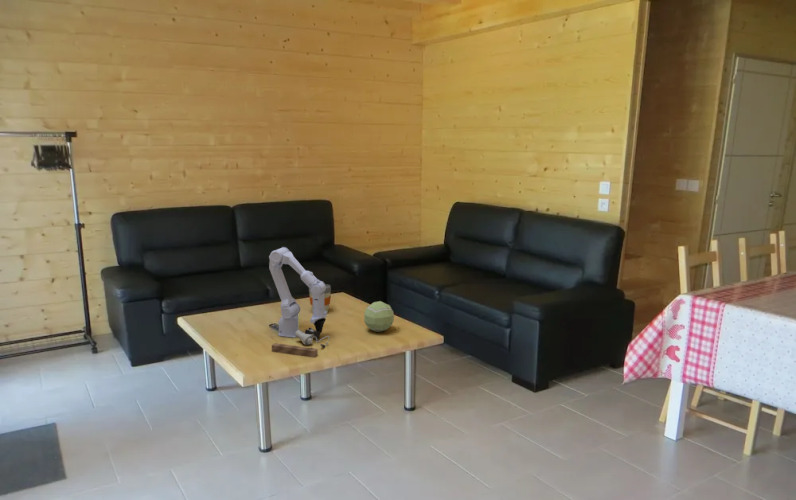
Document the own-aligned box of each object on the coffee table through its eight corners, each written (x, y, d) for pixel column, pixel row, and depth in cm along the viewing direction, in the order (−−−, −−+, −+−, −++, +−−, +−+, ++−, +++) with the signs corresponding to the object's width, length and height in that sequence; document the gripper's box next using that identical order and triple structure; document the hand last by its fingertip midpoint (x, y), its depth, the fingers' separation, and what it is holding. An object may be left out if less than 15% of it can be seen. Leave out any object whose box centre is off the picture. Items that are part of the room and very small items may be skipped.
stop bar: (271, 351, 266) (271, 345, 266) (275, 349, 269) (275, 343, 269) (314, 357, 259) (314, 351, 259) (317, 355, 262) (317, 348, 262)
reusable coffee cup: (311, 308, 334) (310, 283, 331) (333, 309, 334) (332, 283, 331) (307, 315, 322) (306, 289, 319) (329, 315, 321) (329, 289, 318)
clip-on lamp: (333, 349, 277) (309, 333, 288) (336, 337, 276) (312, 322, 286) (315, 354, 268) (291, 337, 279) (318, 342, 266) (293, 325, 277)
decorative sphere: (399, 332, 294) (399, 304, 291) (373, 337, 286) (373, 308, 283) (384, 324, 306) (384, 297, 304) (359, 329, 299) (359, 301, 296)
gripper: (319, 311, 274) (319, 338, 277) (332, 303, 288) (332, 329, 290) (306, 309, 277) (306, 336, 279) (319, 302, 290) (320, 327, 293)
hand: (319, 333), depth 285 cm, fingers closed
